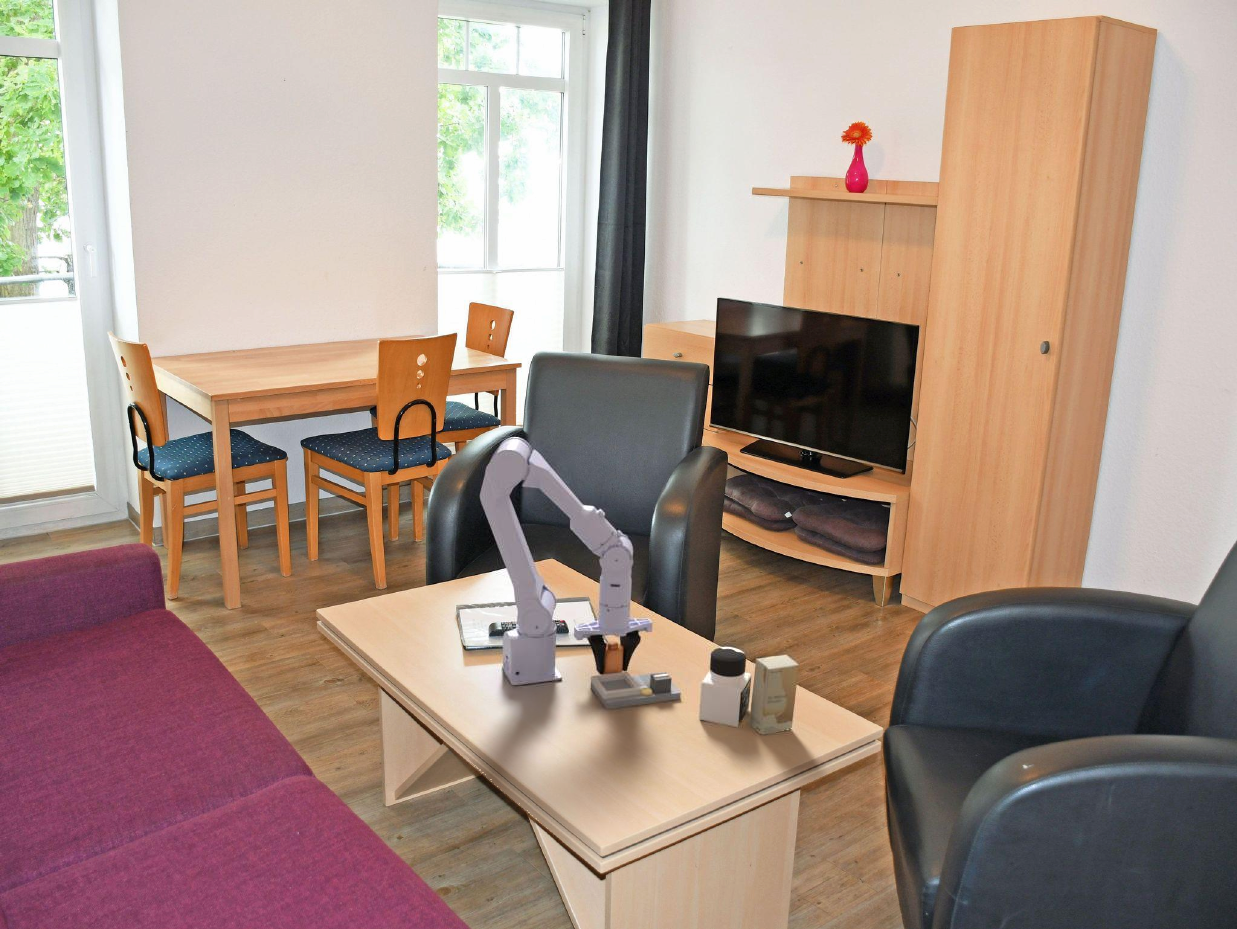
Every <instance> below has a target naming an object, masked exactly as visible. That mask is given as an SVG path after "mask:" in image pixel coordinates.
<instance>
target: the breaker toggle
mask: <svg viewBox="0 0 1237 929" xmlns="http://www.w3.org/2000/svg"><path fill="white" fill-rule="evenodd" d="M662 672H663V671H662ZM655 673H656V674H651V673H650V674H651V677H650V688H651V689H652V690H653V691H654V692H655V693H660V692H668V691H671V682H672V677H671V676H670V675H669V674H668V673H667V671H665V672H663V673H658V672H655Z"/></svg>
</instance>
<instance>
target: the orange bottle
mask: <svg viewBox="0 0 1237 929" xmlns="http://www.w3.org/2000/svg"><path fill="white" fill-rule="evenodd" d="M606 644H607V647H606V651H605V658H604V674H600V675H605V674H613V673H620V672H624V671H623V652H624V647H623V646H622V645H620V644H619V643H618V642H617V641H608V642H607V643H606Z"/></svg>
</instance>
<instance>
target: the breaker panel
mask: <svg viewBox="0 0 1237 929" xmlns="http://www.w3.org/2000/svg"><path fill="white" fill-rule="evenodd" d="M656 673H663V671H660V672H652V673H646V674H645V673H644V674H643V673H642V674H637V675H631V674H630V673H629V672H628V671H623V672H620V673H613V674H605V675H601V674H598V675H591V676H590V689H591V690H592V691H593V693H594V694H595V696H596V697H597V698H598V700H599V701H600V702H601V704H602V705H603V706H604V708H605V709H606V710H611V709H619V708H624V707H633V706H639V705H640V706H641V705H646V704H653V703H654V704H655V703H661V702H668V701H675V700H680V699H681V691H680V690H679V689H678V688H677V686H675V684H673V682H672V681H671V691H668V692H660V693H655V692H654V691H653V690H652V689H651V688H650V677H651V674H656Z"/></svg>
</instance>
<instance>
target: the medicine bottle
mask: <svg viewBox="0 0 1237 929" xmlns="http://www.w3.org/2000/svg"><path fill="white" fill-rule="evenodd" d="M746 664H747V655H746V653H745V652H744V651H742V650H741V649H738V648H736V647H731V646H721V647H717V648H715V649H713V650H712V651H711V652H710V664H709V671H708V673H707V674H706V676H705V677H704V678H703V680H702V681H701V686H700V688H701V689H700V698H699V699H700V701H699V703H700V704H699V717H698V718H699V720H701V721H706V722H710V723H714V724H719V725H724V726H729V727H734V728H740V726H741V725H742V722H743V721H744V720H745V717H746V716H747V713H748V712H749V709H750V708H749V707H750V698H751V697H750V696H751V685H752V674H751V673H749V672H746V668H747V667H746Z"/></svg>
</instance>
